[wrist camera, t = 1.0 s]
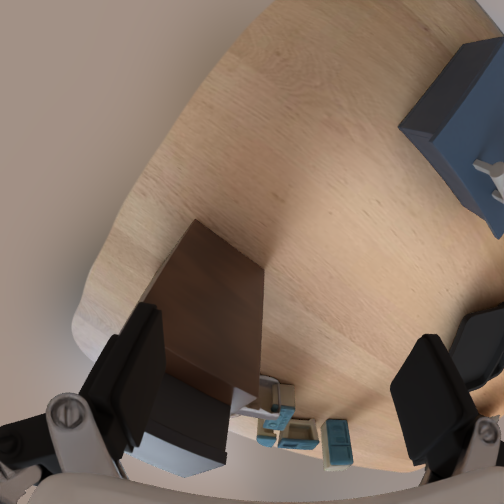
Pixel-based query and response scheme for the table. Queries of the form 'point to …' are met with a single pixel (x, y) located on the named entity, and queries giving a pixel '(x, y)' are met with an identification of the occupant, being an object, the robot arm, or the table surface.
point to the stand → (211, 316)
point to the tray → (480, 347)
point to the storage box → (447, 109)
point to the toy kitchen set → (306, 432)
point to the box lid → (479, 141)
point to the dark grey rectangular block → (184, 430)
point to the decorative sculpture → (262, 401)
